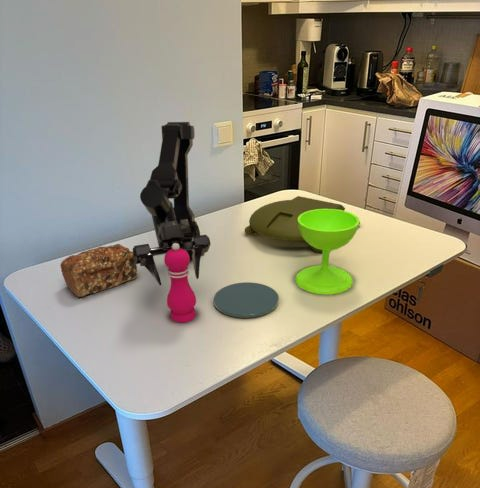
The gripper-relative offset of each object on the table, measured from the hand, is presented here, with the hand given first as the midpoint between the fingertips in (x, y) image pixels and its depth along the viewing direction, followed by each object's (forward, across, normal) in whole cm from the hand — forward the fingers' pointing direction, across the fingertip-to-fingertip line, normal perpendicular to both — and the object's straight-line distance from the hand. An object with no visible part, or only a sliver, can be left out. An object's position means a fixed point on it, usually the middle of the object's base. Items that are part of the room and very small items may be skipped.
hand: (179, 281), depth 120 cm
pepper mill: (+7, 0, +7) cm, 10 cm away
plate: (+6, +17, +8) cm, 20 cm away
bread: (-11, -18, +26) cm, 33 cm away
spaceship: (-20, +49, +34) cm, 63 cm away
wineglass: (+4, +42, +10) cm, 43 cm away
